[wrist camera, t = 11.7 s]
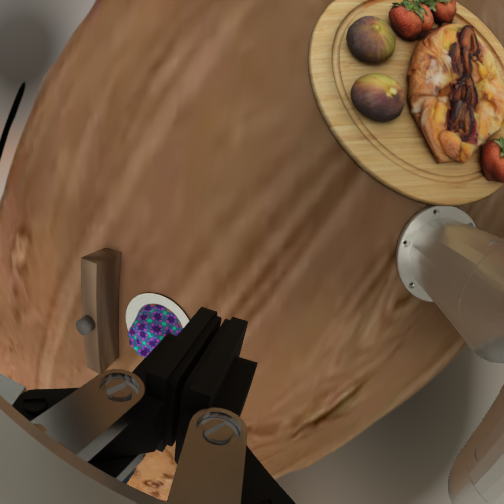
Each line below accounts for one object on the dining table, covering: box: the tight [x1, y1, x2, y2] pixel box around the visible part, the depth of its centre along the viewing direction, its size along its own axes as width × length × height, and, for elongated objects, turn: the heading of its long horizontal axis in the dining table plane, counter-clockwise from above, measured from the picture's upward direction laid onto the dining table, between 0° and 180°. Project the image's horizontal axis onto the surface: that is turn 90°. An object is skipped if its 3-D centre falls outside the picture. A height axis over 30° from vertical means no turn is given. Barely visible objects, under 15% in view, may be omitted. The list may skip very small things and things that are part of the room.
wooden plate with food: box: [308, 0, 504, 206], centre depth 24 cm, size 32×32×8 cm
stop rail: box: [76, 248, 121, 374], centre depth 41 cm, size 3×20×8 cm, turn 168°
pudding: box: [126, 293, 189, 357], centre depth 42 cm, size 12×12×5 cm
